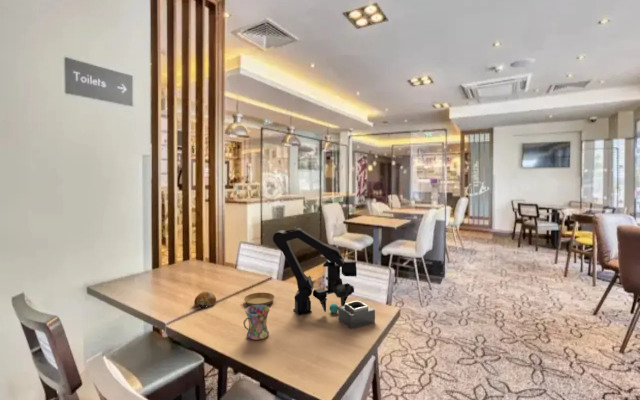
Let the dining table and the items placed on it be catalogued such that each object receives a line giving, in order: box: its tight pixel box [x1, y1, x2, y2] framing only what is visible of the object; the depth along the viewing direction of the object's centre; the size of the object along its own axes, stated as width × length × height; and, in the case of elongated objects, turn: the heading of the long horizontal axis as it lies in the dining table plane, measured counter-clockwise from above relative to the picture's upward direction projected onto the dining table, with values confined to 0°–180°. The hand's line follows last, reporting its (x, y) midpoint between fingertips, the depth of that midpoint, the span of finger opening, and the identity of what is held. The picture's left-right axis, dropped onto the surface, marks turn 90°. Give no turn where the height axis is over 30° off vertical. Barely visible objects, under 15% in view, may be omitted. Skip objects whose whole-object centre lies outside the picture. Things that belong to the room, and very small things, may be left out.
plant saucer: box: [243, 292, 275, 307], centre depth 160 cm, size 15×15×3 cm
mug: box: [242, 305, 270, 341], centre depth 125 cm, size 12×9×11 cm
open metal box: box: [337, 300, 376, 330], centre depth 139 cm, size 12×10×7 cm
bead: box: [329, 303, 339, 314], centre depth 148 cm, size 4×4×4 cm
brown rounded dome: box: [193, 291, 217, 308], centre depth 159 cm, size 10×10×8 cm
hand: (333, 309), depth 148 cm, fingers open, 9 cm apart
